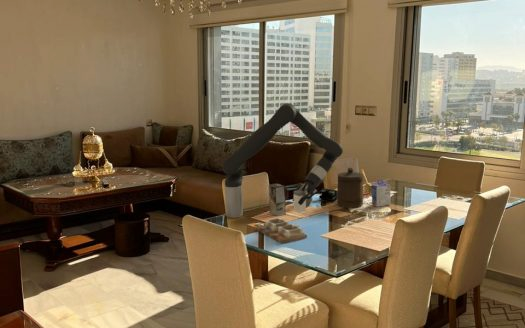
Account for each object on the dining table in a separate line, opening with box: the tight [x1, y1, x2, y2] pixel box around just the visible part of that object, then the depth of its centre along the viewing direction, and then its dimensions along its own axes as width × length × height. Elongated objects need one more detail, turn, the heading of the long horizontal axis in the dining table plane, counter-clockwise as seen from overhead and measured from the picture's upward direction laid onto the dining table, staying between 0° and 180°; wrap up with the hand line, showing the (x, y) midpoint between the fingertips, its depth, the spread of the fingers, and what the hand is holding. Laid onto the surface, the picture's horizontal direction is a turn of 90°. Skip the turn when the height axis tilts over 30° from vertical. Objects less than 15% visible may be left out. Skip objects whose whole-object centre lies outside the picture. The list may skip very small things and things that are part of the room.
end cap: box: [318, 188, 337, 203], centre depth 294 cm, size 10×7×7 cm
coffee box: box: [268, 183, 287, 217], centre depth 269 cm, size 9×6×16 cm
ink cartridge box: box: [371, 179, 392, 208], centre depth 280 cm, size 10×6×14 cm, turn 112°
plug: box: [293, 190, 307, 213], centre depth 242 cm, size 4×4×10 cm
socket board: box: [255, 217, 308, 244], centre depth 236 cm, size 24×14×4 cm, turn 30°
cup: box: [306, 194, 313, 208], centre depth 283 cm, size 10×9×10 cm
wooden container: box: [336, 167, 364, 209], centre depth 282 cm, size 15×15×22 cm
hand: (296, 202), depth 241 cm, fingers closed on plug, 4 cm apart
